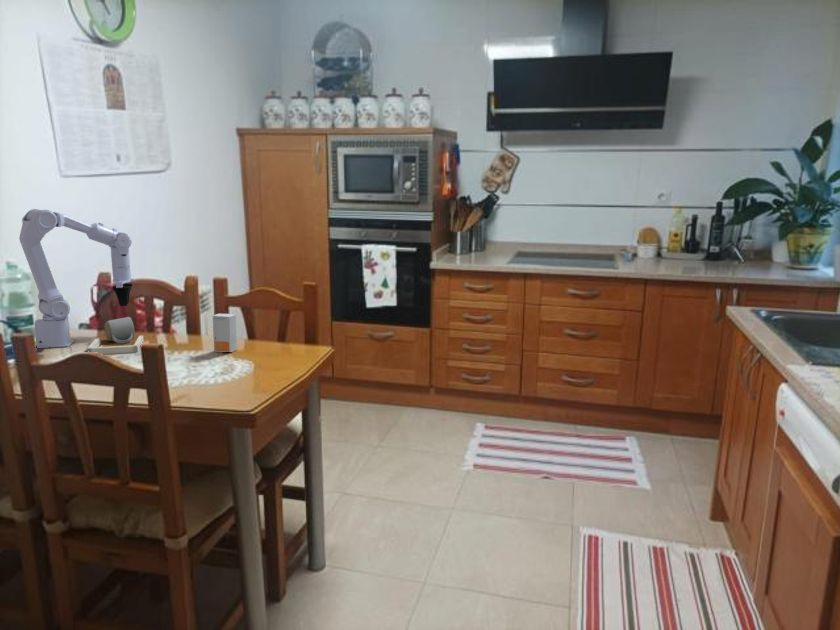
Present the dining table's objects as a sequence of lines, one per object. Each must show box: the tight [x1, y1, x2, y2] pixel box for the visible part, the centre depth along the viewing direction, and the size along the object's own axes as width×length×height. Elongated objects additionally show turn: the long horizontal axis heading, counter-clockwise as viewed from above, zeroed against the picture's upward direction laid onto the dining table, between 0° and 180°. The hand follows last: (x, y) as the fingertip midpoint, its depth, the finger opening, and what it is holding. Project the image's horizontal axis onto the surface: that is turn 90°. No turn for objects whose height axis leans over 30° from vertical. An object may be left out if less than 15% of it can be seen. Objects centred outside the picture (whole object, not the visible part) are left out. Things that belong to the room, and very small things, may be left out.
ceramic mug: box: [104, 316, 135, 345], centre depth 213 cm, size 11×8×8 cm
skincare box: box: [212, 312, 238, 353], centre depth 201 cm, size 6×4×12 cm
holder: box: [86, 335, 145, 355], centre depth 205 cm, size 14×15×2 cm
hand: (124, 305), depth 223 cm, fingers open, 3 cm apart
